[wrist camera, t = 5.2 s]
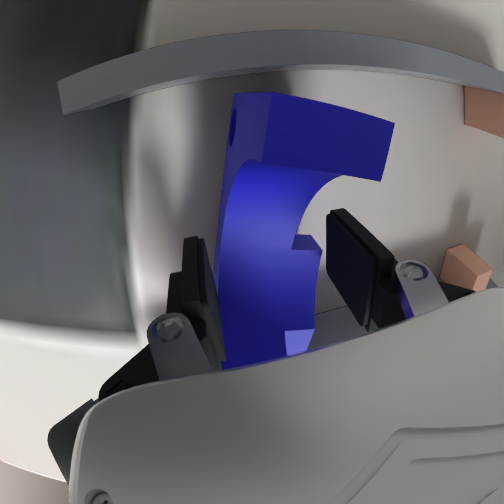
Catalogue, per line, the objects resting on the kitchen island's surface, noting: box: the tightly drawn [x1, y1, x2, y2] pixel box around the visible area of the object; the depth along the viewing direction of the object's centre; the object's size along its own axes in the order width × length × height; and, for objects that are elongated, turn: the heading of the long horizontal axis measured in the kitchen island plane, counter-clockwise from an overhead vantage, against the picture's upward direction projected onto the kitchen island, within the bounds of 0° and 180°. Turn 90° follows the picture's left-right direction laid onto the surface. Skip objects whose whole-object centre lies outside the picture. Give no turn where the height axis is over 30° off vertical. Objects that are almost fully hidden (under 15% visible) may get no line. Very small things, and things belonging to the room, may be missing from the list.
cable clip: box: [213, 92, 395, 371], centre depth 11 cm, size 12×4×6 cm, turn 172°
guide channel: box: [57, 30, 504, 351], centre depth 13 cm, size 24×16×4 cm
